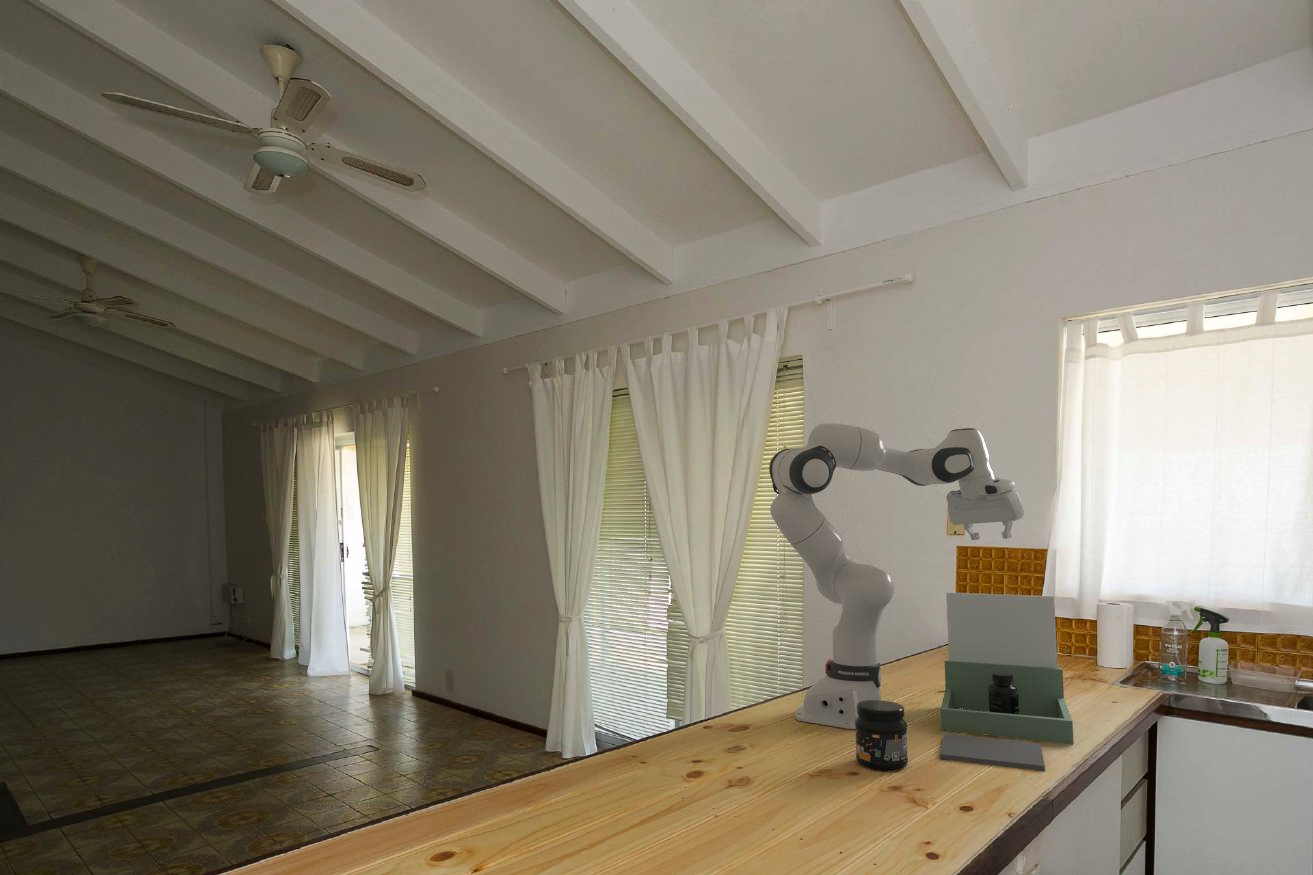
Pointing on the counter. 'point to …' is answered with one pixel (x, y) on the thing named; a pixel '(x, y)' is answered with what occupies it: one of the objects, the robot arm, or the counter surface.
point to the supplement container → (881, 735)
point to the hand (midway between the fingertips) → (991, 538)
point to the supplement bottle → (1003, 694)
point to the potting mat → (992, 752)
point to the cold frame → (1004, 666)
